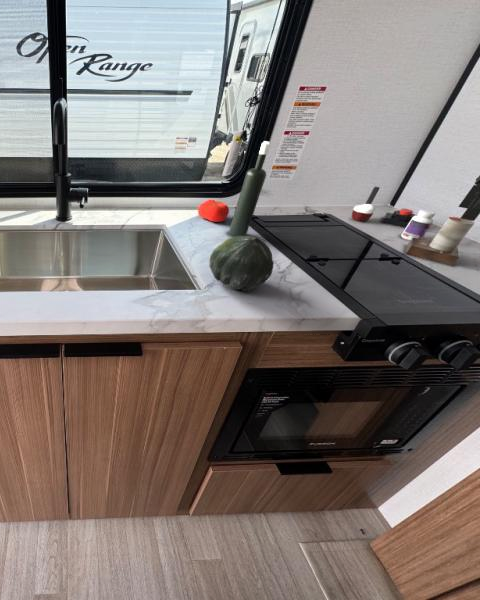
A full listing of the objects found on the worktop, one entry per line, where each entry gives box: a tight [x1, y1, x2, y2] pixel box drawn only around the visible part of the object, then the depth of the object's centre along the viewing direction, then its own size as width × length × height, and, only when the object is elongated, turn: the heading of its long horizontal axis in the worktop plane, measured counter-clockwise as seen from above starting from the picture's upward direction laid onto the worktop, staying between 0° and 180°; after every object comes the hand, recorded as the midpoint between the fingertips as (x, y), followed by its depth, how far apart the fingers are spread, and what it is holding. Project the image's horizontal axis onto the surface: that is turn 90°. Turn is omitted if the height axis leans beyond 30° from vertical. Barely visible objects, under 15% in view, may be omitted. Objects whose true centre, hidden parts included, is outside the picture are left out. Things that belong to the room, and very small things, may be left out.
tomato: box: [197, 199, 230, 223], centre depth 124 cm, size 10×11×6 cm
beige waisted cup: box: [430, 216, 475, 252], centre depth 98 cm, size 6×6×9 cm
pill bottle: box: [401, 209, 437, 241], centre depth 111 cm, size 5×5×10 cm
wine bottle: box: [227, 140, 271, 237], centre depth 105 cm, size 6×6×30 cm
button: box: [399, 208, 414, 216], centre depth 123 cm, size 4×4×2 cm
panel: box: [405, 237, 464, 267], centre depth 102 cm, size 12×10×3 cm
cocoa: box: [351, 186, 380, 223], centre depth 124 cm, size 10×6×12 cm, turn 112°
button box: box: [381, 210, 417, 229], centre depth 124 cm, size 10×8×4 cm
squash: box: [208, 235, 274, 292], centre depth 84 cm, size 14×15×15 cm
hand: (465, 213), depth 94 cm, fingers open, 13 cm apart
